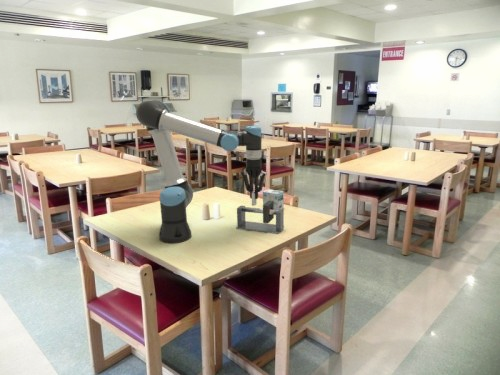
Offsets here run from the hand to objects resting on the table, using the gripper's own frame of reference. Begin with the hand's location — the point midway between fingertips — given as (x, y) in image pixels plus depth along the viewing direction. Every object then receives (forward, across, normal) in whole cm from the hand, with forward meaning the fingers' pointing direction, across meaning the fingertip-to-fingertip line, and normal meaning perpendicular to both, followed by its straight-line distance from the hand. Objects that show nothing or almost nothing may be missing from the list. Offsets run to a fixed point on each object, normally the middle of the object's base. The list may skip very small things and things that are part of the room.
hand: (254, 204), depth 186 cm
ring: (+7, +8, 0) cm, 11 cm away
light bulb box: (+12, -1, +33) cm, 35 cm away
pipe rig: (+12, +3, 0) cm, 12 cm away
